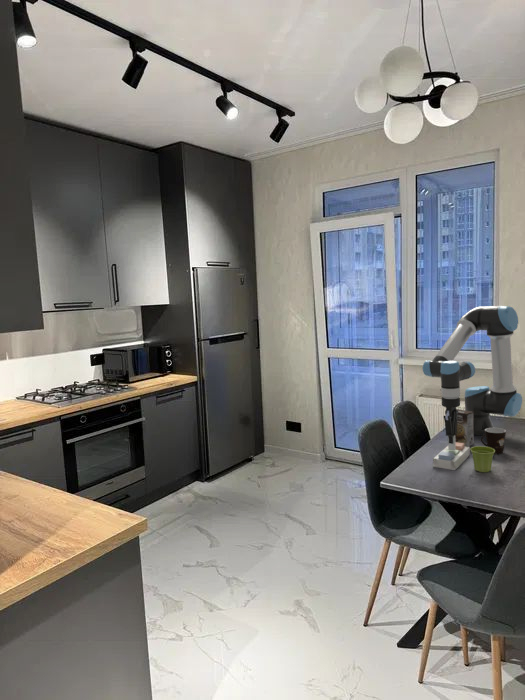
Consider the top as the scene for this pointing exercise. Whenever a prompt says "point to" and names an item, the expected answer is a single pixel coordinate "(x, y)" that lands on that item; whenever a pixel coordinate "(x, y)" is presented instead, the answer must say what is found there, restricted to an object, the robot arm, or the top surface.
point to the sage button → (453, 451)
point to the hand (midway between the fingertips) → (452, 449)
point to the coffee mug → (495, 439)
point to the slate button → (446, 456)
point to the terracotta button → (459, 446)
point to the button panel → (454, 462)
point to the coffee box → (465, 428)
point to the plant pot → (482, 458)
